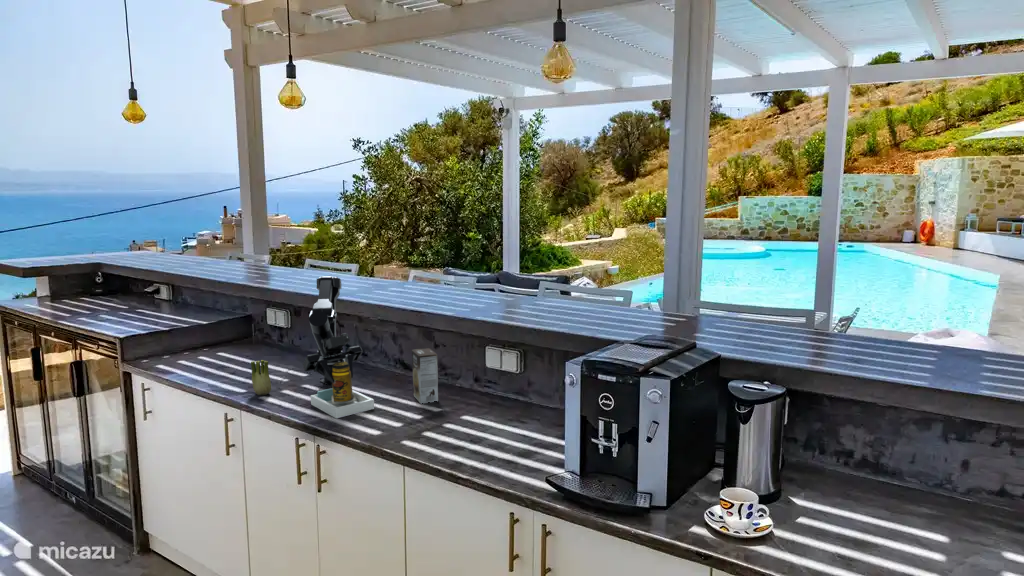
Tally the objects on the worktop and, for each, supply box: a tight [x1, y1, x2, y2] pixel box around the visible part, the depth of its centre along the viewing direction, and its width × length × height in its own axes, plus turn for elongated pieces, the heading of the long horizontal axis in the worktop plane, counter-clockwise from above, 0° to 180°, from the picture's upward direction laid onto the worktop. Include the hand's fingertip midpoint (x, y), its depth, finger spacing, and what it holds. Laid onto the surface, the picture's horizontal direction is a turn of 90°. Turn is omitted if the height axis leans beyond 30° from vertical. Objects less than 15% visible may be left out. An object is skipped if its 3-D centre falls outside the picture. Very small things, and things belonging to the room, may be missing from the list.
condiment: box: [331, 362, 356, 404], centre depth 208 cm, size 7×8×12 cm
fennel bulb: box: [250, 359, 272, 396], centre depth 222 cm, size 6×5×12 cm
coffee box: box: [411, 347, 439, 405], centre depth 214 cm, size 9×6×16 cm
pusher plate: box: [316, 387, 333, 401], centre depth 213 cm, size 1×10×4 cm, turn 131°
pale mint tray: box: [310, 389, 375, 419], centre depth 209 cm, size 19×13×3 cm
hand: (342, 380), depth 206 cm, fingers closed on condiment, 6 cm apart
